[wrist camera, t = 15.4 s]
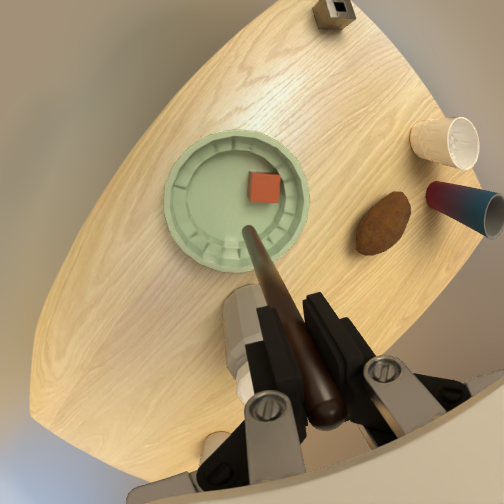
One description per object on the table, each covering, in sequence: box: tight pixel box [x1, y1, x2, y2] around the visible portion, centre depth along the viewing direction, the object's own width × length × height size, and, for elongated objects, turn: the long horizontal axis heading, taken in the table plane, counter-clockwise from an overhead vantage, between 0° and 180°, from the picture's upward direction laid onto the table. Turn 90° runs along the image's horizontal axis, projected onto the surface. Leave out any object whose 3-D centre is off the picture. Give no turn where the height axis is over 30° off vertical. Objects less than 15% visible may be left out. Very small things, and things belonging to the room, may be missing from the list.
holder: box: [312, 0, 356, 29], centre depth 30 cm, size 4×4×5 cm
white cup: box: [410, 117, 479, 170], centre depth 36 cm, size 8×8×10 cm
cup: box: [426, 181, 504, 239], centre depth 37 cm, size 7×7×15 cm
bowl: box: [164, 129, 310, 273], centre depth 37 cm, size 18×18×6 cm
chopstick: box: [242, 225, 348, 431], centre depth 16 cm, size 1×1×20 cm
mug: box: [199, 432, 231, 466], centre depth 54 cm, size 13×9×10 cm
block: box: [247, 171, 281, 203], centre depth 38 cm, size 4×4×4 cm
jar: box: [222, 284, 267, 405], centre depth 38 cm, size 10×10×18 cm
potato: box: [356, 192, 411, 255], centre depth 41 cm, size 7×12×7 cm, turn 146°
